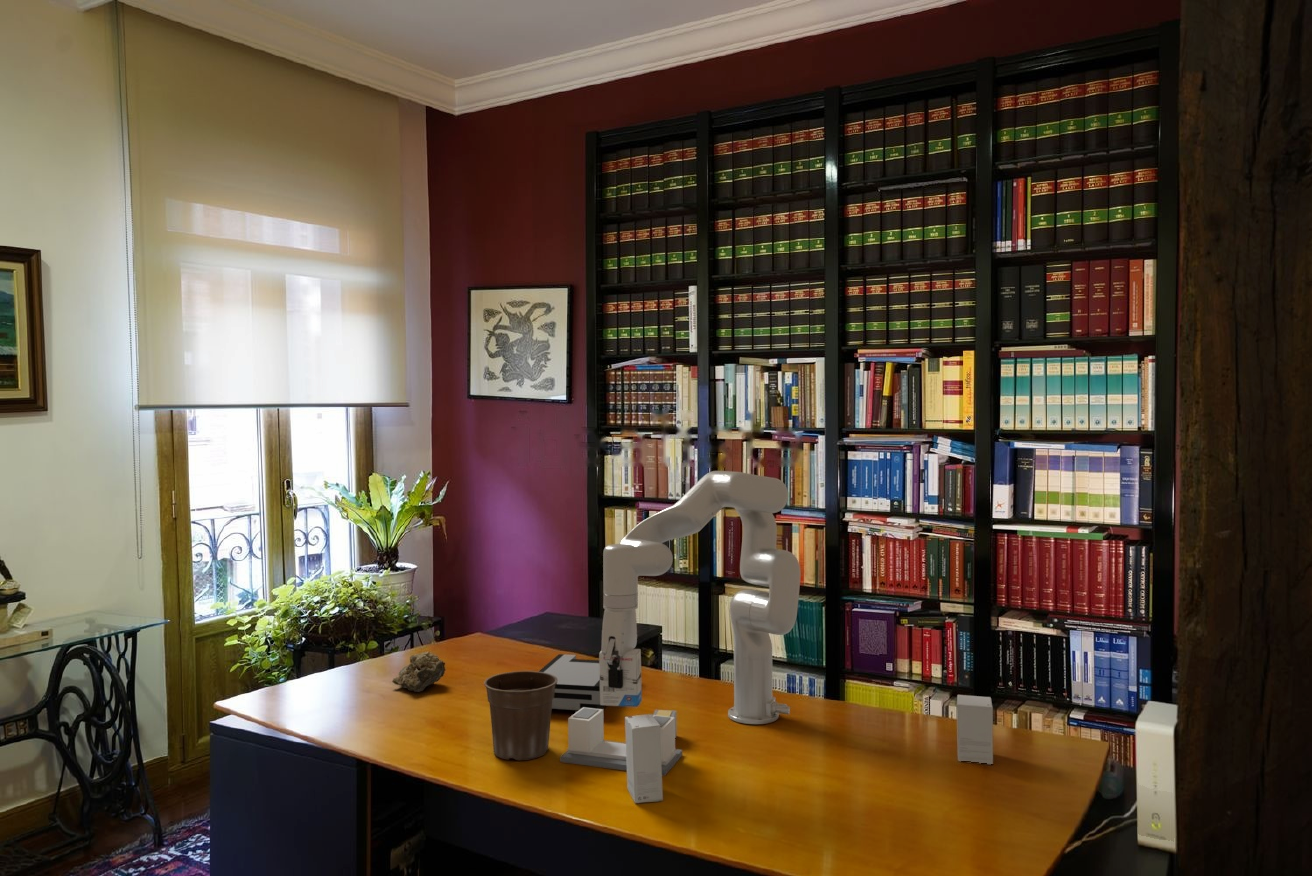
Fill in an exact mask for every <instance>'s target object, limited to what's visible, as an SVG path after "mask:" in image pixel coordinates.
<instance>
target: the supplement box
mask: <svg viewBox="0 0 1312 876" xmlns="http://www.w3.org/2000/svg"><path fill="white" fill-rule="evenodd" d="M956 698H957V699H956V730H957V732H956V734H957V735H956V739H957V740H956V741H957V742H956V743H957V746H956V747H957V748H956V749H957V761H958V762H961V761H971V762H979V763H978V764H981V763H987V764H986V765H991V764H994V738H993V737H994V732H993V731H994V729H993V728H994V721H993V720H994V719H993V718H994V717H993V716H994V713H993V712H994V707H993V703H992V698H991V696H979V695H978V696H977V695H966V694H957V697H956ZM971 762H970V763H971Z"/></svg>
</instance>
